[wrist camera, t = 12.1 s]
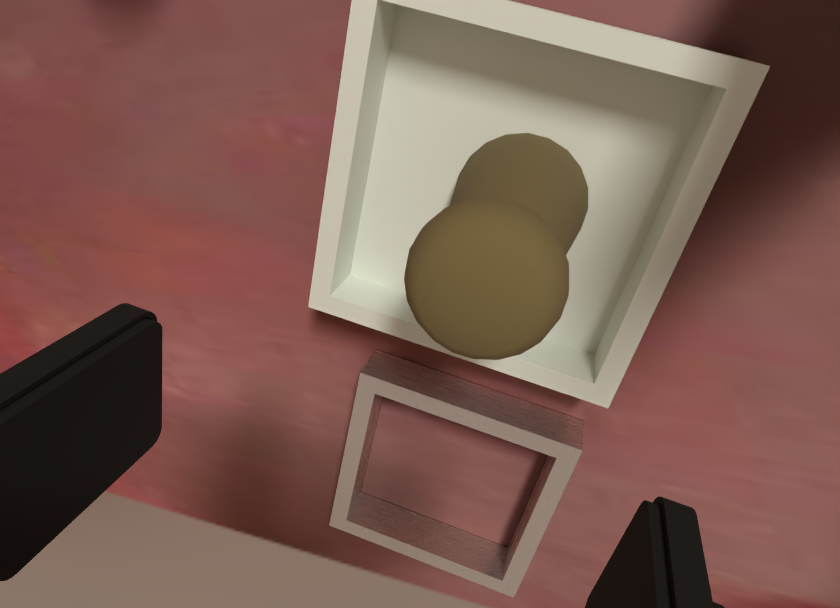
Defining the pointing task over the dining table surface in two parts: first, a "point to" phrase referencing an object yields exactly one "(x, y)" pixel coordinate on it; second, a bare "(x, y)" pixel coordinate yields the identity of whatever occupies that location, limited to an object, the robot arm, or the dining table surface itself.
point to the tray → (512, 114)
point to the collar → (472, 410)
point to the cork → (499, 249)
